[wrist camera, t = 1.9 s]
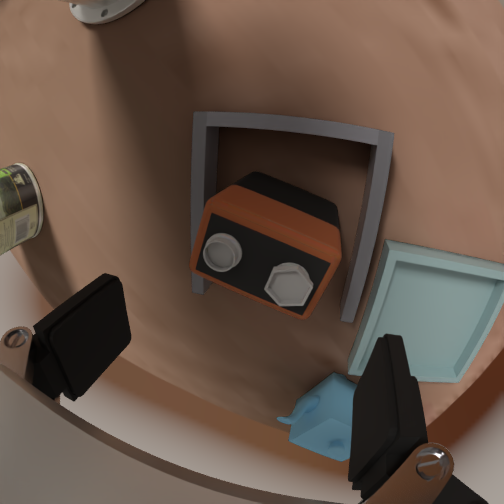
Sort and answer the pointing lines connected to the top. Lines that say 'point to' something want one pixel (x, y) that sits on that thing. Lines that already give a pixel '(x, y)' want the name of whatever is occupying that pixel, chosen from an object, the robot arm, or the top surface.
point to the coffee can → (19, 206)
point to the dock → (381, 141)
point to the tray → (430, 309)
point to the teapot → (324, 418)
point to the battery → (269, 243)
